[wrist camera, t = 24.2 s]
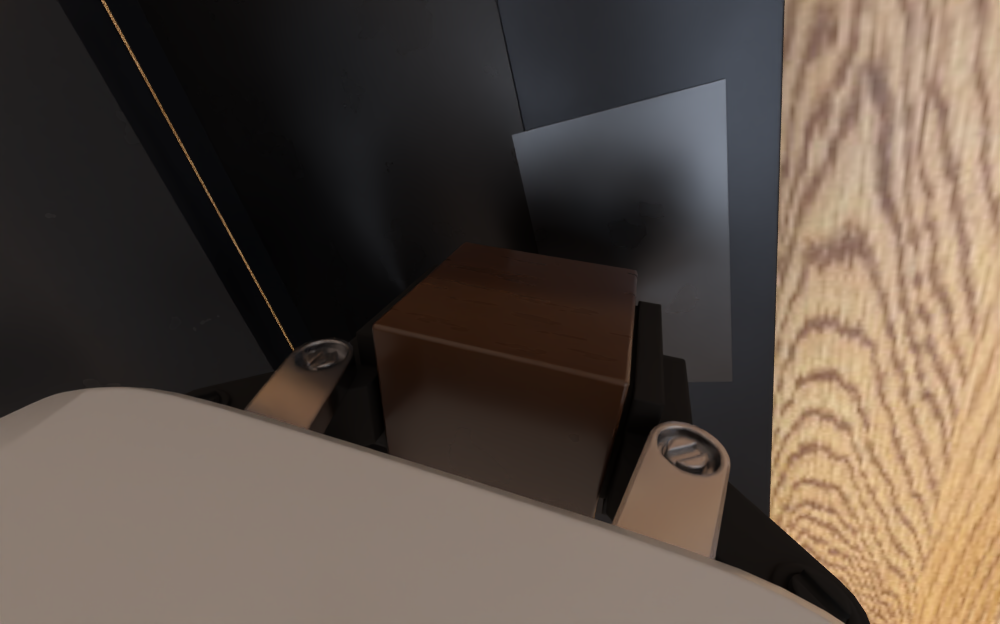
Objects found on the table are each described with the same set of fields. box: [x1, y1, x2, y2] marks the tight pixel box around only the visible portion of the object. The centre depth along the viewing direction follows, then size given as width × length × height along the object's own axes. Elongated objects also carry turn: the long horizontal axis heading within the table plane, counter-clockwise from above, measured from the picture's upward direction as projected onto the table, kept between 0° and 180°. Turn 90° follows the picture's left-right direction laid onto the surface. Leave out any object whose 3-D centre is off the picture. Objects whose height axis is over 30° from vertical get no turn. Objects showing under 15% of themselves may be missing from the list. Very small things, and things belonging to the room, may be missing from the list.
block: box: [372, 242, 638, 519], centre depth 10 cm, size 5×5×5 cm
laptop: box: [105, 0, 785, 524], centre depth 17 cm, size 21×30×2 cm
